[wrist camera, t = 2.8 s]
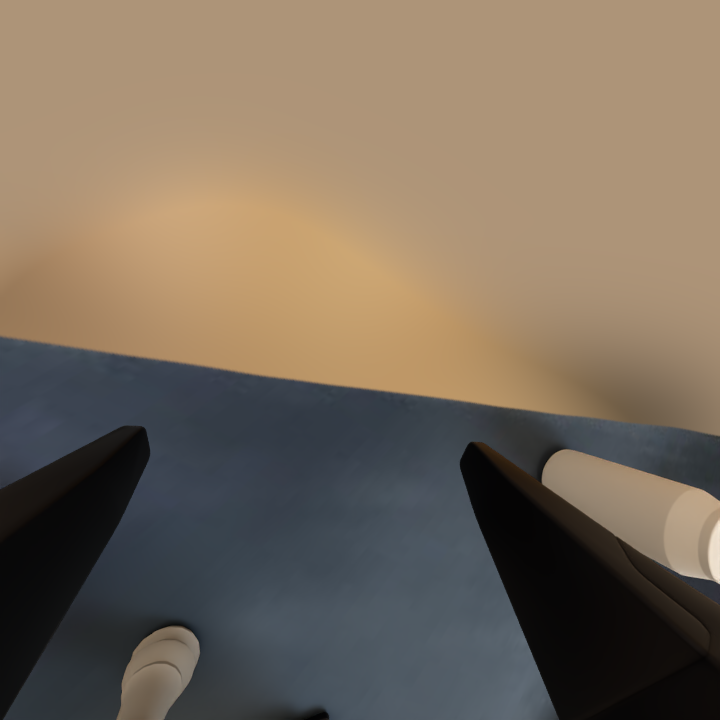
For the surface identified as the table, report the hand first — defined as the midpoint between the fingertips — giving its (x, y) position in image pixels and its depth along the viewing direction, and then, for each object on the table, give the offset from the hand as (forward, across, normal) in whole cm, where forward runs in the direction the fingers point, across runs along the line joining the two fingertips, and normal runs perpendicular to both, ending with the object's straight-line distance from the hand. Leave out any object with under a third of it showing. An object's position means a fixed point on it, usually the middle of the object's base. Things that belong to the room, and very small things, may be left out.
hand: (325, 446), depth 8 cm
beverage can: (+11, -28, +14) cm, 33 cm away
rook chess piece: (+4, +8, +25) cm, 26 cm away
